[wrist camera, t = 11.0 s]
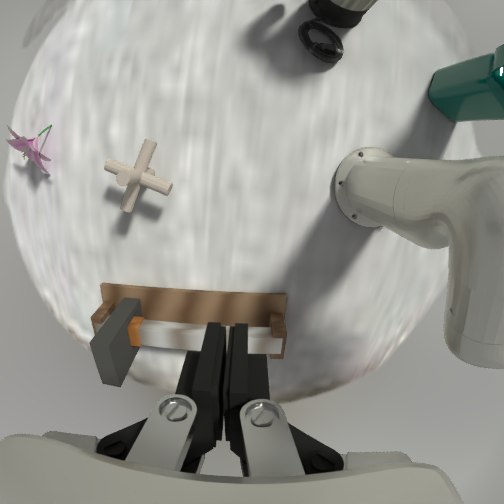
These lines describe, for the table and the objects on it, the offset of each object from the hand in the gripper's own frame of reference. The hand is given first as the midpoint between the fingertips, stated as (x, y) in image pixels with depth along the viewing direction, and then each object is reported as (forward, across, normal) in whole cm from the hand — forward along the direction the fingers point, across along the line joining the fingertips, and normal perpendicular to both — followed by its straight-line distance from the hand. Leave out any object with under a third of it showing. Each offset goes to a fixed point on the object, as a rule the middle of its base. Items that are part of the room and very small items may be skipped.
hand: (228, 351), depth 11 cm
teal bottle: (+33, -35, -25) cm, 54 cm away
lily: (+32, +36, -12) cm, 49 cm away
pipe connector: (+32, +14, -6) cm, 35 cm away
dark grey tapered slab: (+30, +19, +18) cm, 40 cm away
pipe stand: (+32, +9, +18) cm, 38 cm away
